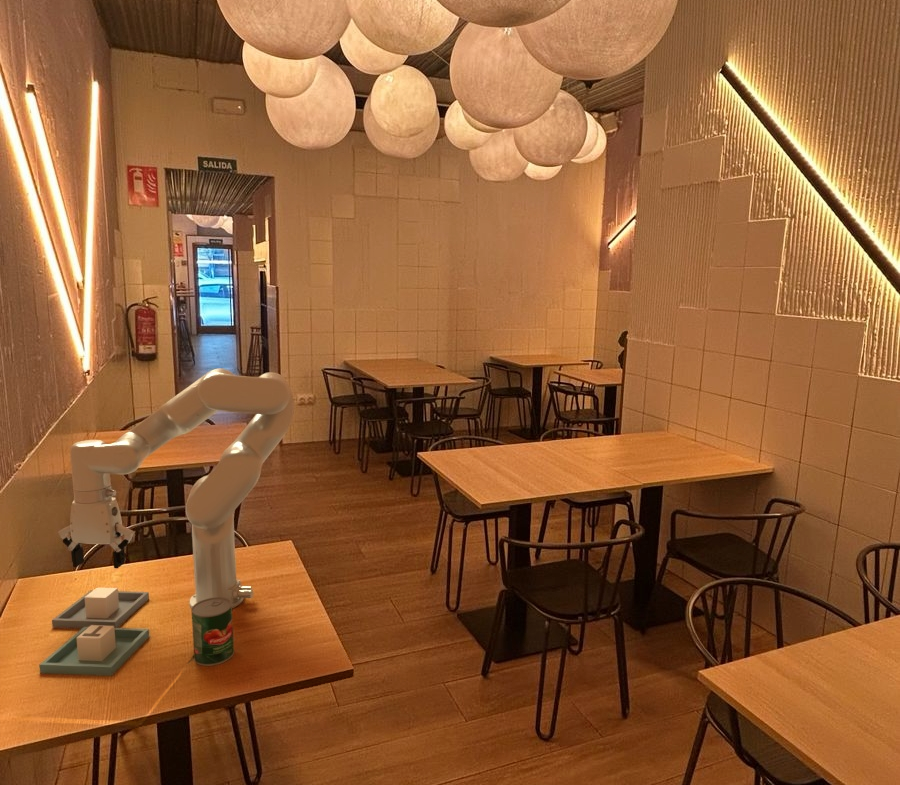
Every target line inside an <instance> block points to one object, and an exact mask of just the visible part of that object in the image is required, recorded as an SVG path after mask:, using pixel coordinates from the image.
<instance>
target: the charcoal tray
mask: <svg viewBox="0 0 900 785" xmlns="http://www.w3.org/2000/svg"><path fill="white" fill-rule="evenodd" d="M93 590H94V589H92V590H90V591H88V592H87V593H85V594H84V595H83V596H82V597H80V598H79V599H77V600H76V601H75V602H73V603H72V604H71V605H70V606H68V607H67V608H65V609H64V610H63V611H62V612H61V613H59V614H58V615H56V616H55V617H54V618H53V619H51V623H52V624H51V626H52V629H78V630H81V629H82V628H83V627H89V626H91V625H104V626H114V628H120V626H122V625H123V624H124V623H125V622H126V621H127V620H128V619H129V618H130V617H132V616H133V615H134V613H135V612H137V611H138V610H139V609H141V607H142V606H144V605H145V603H147V601H149V600H150V594H149V591H130V590H129V591H127V590H125V591H124V590H118V598H119V608H118V609H117V610H116V611H115V612H114V613H113V614H111V615H110V616H109V617H108V618H86V609H85V598H84V597H85V596H87V595H88V594H89V593H91V592H92V591H93Z"/></svg>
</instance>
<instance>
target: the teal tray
mask: <svg viewBox="0 0 900 785" xmlns="http://www.w3.org/2000/svg"><path fill="white" fill-rule="evenodd" d="M87 628H88V627H83V628H82V629H79V630H78V631H77V632H76V633H75V634H74V635H73V636H71V637H70V638H69V639H68V640H67V641H66V642H65V643H63V644H62V645H61V646H60V647H58V648H57V649H55V650H54V652H52V653H51V654H50V655H49V656H48V657H47V658H45V659H44V660H42V662H41V663H39V673H40V674H48V675H49V674H50V675H52V674H54V675H73V676H74V675H76V676H77V675H79V676H101V677H102V676H103V677H104V676H105V677H112V676H113V675H114V674H115V673H116V672H117V671H118V670H119V669H120V668H121V667H122V666H123V665H124V664H125V663H126V662H127V661H128V659H129V658H131V656H133V655H134V654H135V653H136V652H137V650H139V648H140V647H141V646H142V645H144V643H145V642H146V641H147V640H148V639H149V638H150V629H149V628H134V627H133V628H131V627H127V628H126V627H125V628H124V627H118V628H114V631H115V643H116V648H115V649H114V650H113V651H112V652H111V653H110V654H109V655H108V656H107V657H106V658H105V659H104V660H103V661H85V660H78V649H77V639H76V638H77V637H78V636H79V635H80V634H81V633H82V632H84V631H85V630H86V629H87Z"/></svg>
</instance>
